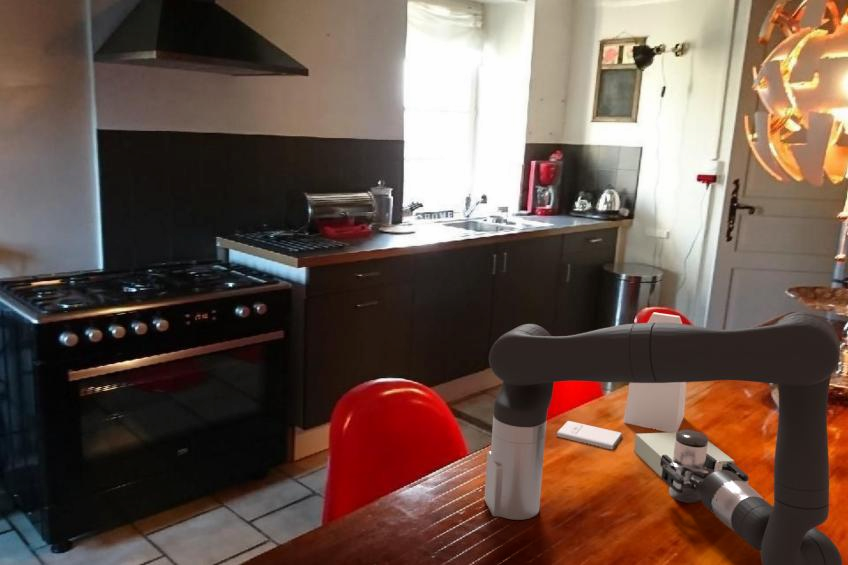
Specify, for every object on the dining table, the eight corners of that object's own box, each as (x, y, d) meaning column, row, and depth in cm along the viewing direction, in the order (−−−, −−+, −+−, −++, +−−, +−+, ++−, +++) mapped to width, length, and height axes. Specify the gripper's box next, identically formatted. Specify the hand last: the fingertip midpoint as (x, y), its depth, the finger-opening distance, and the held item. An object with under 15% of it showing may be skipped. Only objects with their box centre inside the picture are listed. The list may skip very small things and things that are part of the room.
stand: (666, 482, 139) (668, 463, 138) (633, 451, 153) (635, 433, 152) (731, 479, 142) (734, 460, 141) (693, 448, 155) (695, 431, 154)
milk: (683, 417, 173) (696, 313, 167) (676, 434, 163) (689, 324, 157) (633, 407, 178) (644, 306, 173) (623, 422, 168) (634, 315, 163)
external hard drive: (612, 452, 153) (556, 438, 159) (621, 439, 160) (568, 426, 166) (612, 445, 152) (557, 431, 158) (622, 432, 160) (568, 419, 165)
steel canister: (678, 503, 131) (686, 442, 129) (663, 488, 137) (670, 430, 134) (706, 501, 132) (714, 441, 130) (690, 487, 138) (697, 429, 135)
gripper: (775, 479, 120) (719, 438, 135) (697, 483, 117) (650, 441, 133) (769, 520, 121) (714, 475, 137) (692, 524, 119) (646, 478, 134)
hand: (683, 458), depth 135 cm, fingers open, 8 cm apart
